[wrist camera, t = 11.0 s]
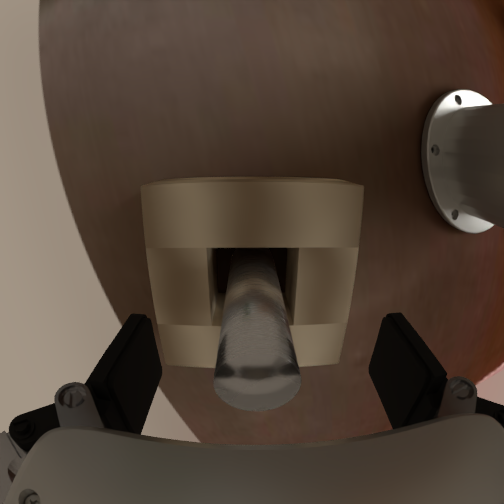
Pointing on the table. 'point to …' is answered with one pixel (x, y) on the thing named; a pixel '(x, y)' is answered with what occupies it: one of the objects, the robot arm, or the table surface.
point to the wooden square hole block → (251, 236)
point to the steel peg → (255, 337)
